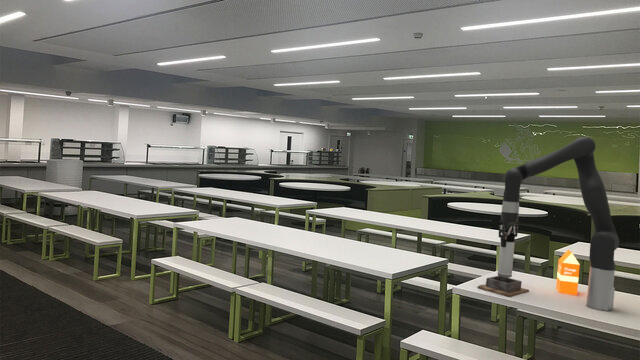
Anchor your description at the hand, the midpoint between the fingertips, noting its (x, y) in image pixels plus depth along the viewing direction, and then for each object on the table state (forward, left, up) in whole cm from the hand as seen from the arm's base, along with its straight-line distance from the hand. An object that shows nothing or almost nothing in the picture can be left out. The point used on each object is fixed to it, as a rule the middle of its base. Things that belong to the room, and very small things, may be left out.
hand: (507, 246), depth 220 cm
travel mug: (0, 0, -14) cm, 14 cm away
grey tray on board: (0, 0, -21) cm, 21 cm away
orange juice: (-17, -28, -21) cm, 39 cm away
